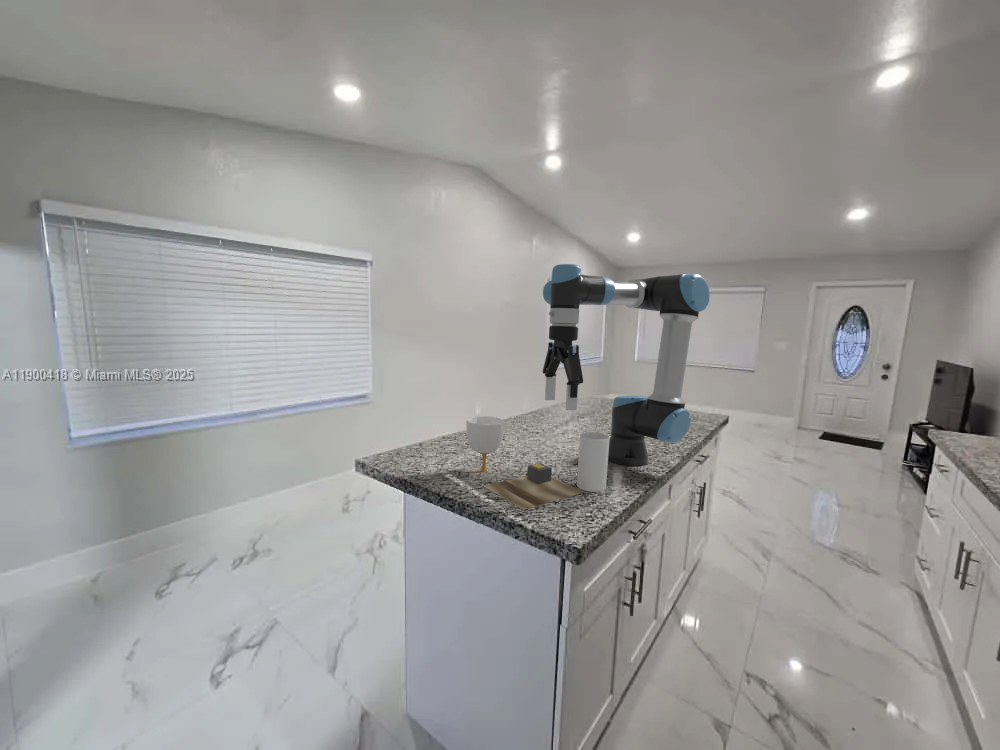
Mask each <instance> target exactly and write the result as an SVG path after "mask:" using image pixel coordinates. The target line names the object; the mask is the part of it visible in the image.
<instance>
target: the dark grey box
mask: <svg viewBox="0 0 1000 750" xmlns="http://www.w3.org/2000/svg"><path fill="white" fill-rule="evenodd" d="M552 469H553V468H552V467H551V466H548V465H545V464H543V463H541V462H539V463H535V464H534V463H533V464H530V465H527V473H526V474H527V475H526V476H527V479H529V480H531V481H533V482H535V483H537V484H541V483H545V482H549V481H551V477H552V472H553V471H552Z"/></svg>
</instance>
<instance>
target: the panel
mask: <svg viewBox="0 0 1000 750" xmlns="http://www.w3.org/2000/svg"><path fill="white" fill-rule="evenodd" d="M483 487H484V488H486V489H488V490H489V491H490V492H492V493H493V494H495V495H498V496H499V497H501V499H504V500H506V501H508V502H509V503H511V504H512V505H514V506H515V507H518V508H519V509H520V510H523V511H526V510H529V509H531V508H532V509H533V508H535V507H539V506H543V505H545V504H546V505H547V504H549V503H553V502H556V501H560V500H563V499H566V498H570V497H573V496H577V495H580V494H584V493H585V491H584V490H582V489H580V488H577V487H574V486H572V485H571V484H569V483H566V482H564V481H561V480H559V479H558V478H556V477H553V476H551V481H549V482H545V483H541V484H537V483H535V482H533V481H531V480H529V479H527V475H525V476H520V477H515V478H512V479H507V480H503V481H499V482H494V483H490V484H486V485H483Z"/></svg>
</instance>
